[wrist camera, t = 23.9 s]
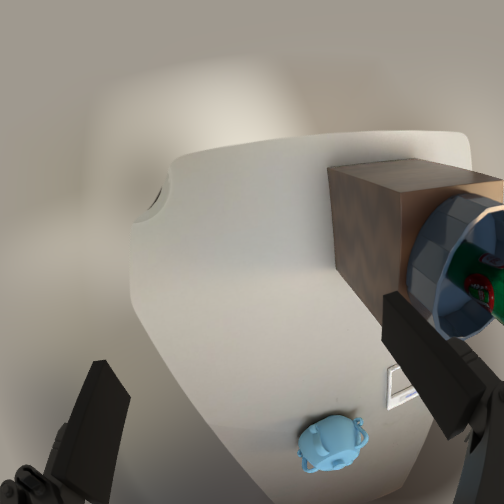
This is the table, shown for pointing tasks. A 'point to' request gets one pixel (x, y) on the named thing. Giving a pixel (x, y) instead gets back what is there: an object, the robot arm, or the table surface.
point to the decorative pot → (331, 443)
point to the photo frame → (401, 396)
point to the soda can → (479, 277)
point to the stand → (390, 218)
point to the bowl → (440, 255)
